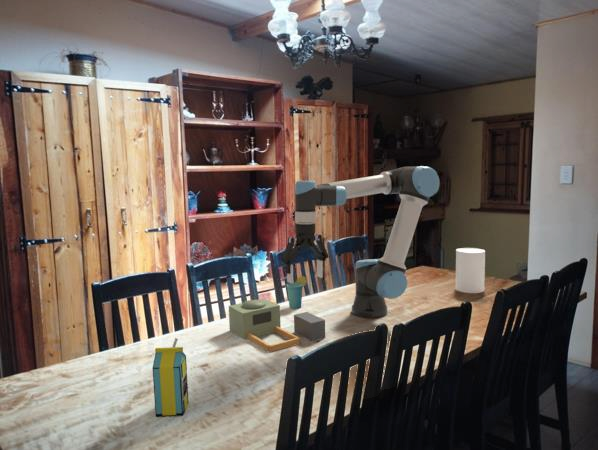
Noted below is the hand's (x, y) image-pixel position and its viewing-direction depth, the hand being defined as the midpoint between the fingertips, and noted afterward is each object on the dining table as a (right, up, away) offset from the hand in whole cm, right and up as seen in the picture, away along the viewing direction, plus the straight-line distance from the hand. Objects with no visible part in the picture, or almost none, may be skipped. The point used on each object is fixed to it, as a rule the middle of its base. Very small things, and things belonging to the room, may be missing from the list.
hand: (305, 279), depth 171 cm
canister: (+83, -12, +59) cm, 103 cm away
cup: (-5, -17, +36) cm, 40 cm away
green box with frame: (-15, -21, +2) cm, 26 cm away
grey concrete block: (+2, -21, +2) cm, 21 cm away
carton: (-36, -29, -49) cm, 67 cm away
